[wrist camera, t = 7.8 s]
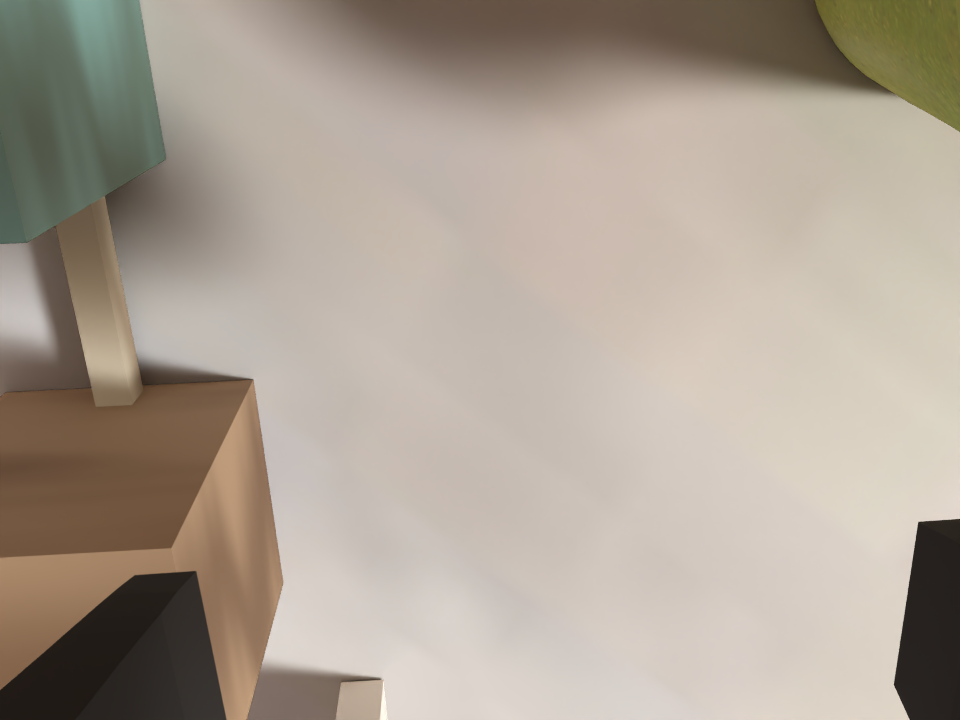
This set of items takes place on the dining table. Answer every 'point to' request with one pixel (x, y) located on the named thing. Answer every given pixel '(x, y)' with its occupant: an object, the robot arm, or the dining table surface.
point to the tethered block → (114, 374)
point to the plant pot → (903, 48)
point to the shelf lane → (362, 701)
